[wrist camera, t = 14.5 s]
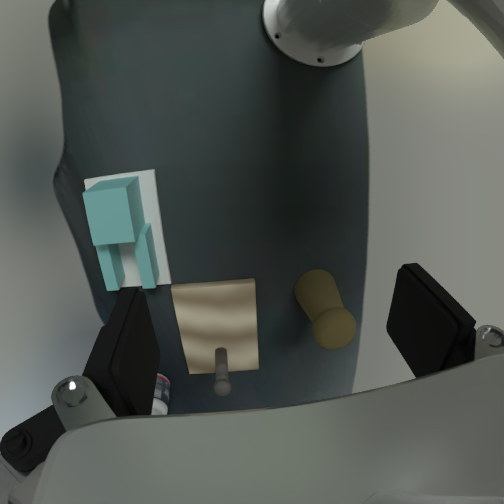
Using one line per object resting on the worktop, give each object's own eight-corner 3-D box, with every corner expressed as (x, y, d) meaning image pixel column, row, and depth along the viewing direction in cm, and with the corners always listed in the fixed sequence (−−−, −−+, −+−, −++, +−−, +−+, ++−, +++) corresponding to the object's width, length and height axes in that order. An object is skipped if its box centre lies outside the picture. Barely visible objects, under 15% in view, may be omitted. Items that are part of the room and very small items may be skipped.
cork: (322, 310, 47) (346, 360, 37) (286, 299, 45) (304, 352, 35) (342, 276, 45) (372, 322, 35) (305, 263, 43) (330, 311, 33)
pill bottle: (169, 393, 52) (165, 433, 44) (140, 388, 51) (133, 428, 43) (171, 374, 50) (167, 416, 42) (140, 368, 49) (132, 410, 41)
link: (94, 181, 35) (77, 193, 30) (144, 174, 35) (132, 186, 30) (114, 276, 41) (102, 299, 36) (159, 273, 41) (152, 296, 36)
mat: (85, 179, 35) (84, 180, 35) (154, 169, 36) (153, 170, 35) (109, 285, 42) (108, 287, 41) (171, 281, 42) (170, 283, 42)
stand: (172, 284, 43) (162, 329, 34) (254, 278, 43) (263, 322, 35) (189, 368, 49) (187, 415, 41) (257, 363, 50) (265, 409, 42)
